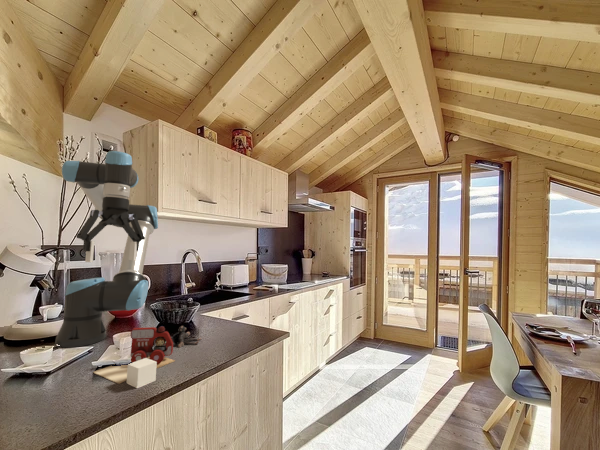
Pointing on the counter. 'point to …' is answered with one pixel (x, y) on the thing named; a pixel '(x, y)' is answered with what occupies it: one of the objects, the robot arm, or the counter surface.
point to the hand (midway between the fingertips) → (112, 261)
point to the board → (123, 371)
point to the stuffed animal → (180, 338)
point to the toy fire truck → (150, 344)
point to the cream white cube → (141, 372)
